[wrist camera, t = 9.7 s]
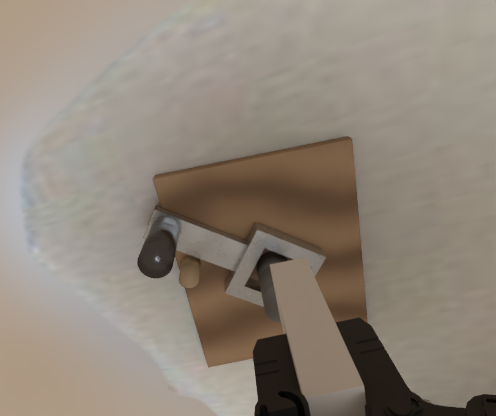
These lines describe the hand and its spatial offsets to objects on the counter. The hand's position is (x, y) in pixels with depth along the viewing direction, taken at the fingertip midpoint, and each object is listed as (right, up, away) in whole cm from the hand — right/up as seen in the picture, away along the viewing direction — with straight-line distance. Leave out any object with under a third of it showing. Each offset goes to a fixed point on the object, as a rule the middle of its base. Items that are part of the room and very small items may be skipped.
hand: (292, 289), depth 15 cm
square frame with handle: (-3, -1, +20) cm, 21 cm away
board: (+1, -2, +22) cm, 23 cm away
